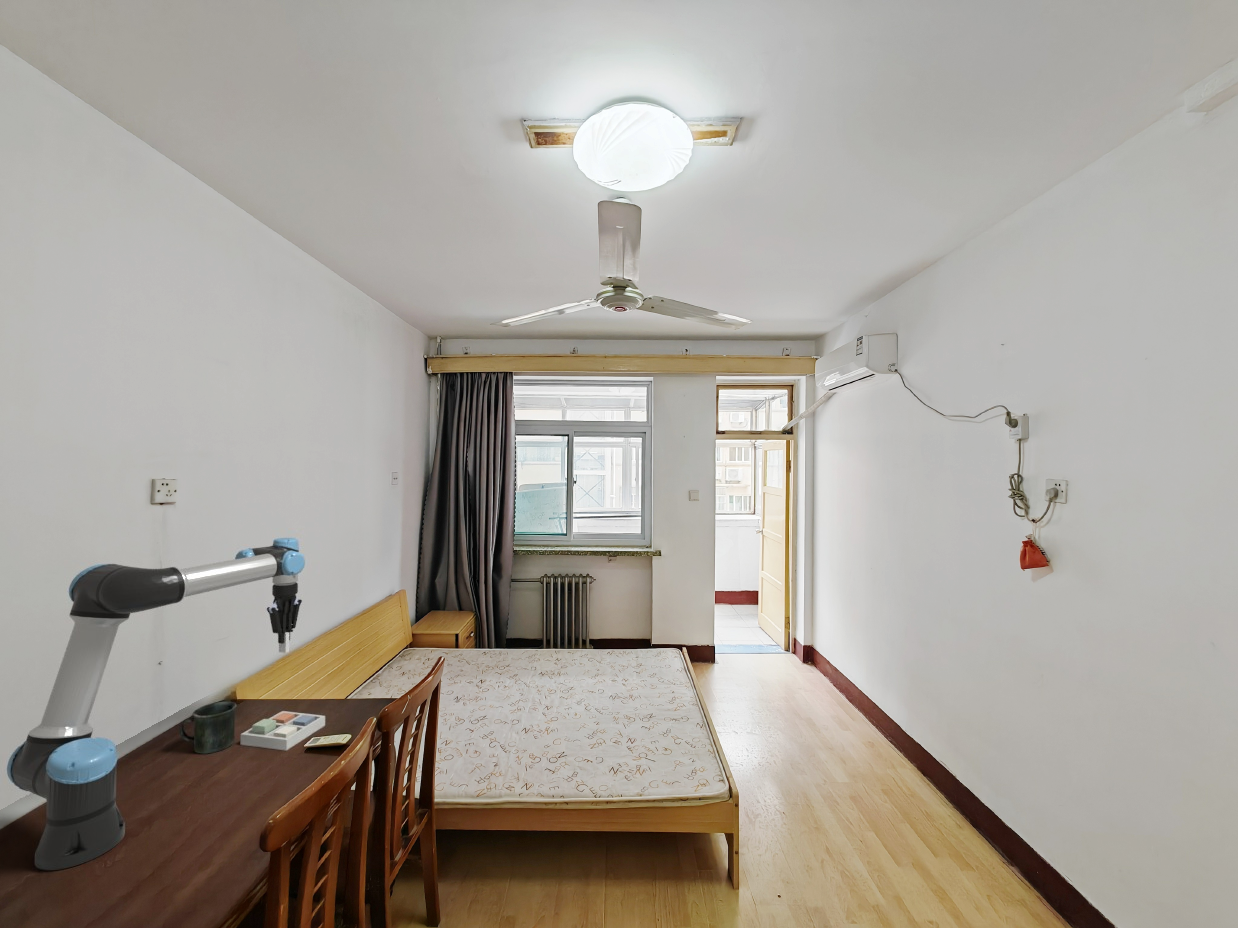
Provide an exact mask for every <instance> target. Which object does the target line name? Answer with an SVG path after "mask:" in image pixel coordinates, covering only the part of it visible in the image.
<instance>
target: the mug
mask: <svg viewBox="0 0 1238 928" xmlns="http://www.w3.org/2000/svg"><path fill="white" fill-rule="evenodd" d="M236 708H237V703H236V702H235V701H234V702H233V701H219V702H213V703H209V704H205V705H203V706H200V707H198V708H196V709H195V710H194V711H193V712H192V716H193V717H190V718H186V719H184V720H183V722H181V723H180V726H179V734H180V735H181V738H182V739H183V740H184V741H187V742H193V750H194V752H196V753H197V754H202V755H203V754H206V755H207V754H213V753H216V752H217V753H218V752H220V751H223V750H226V749H227V748H228V747H230V746H232V745H233V743H234V742H235V732H236V731H235V719H236V716H235V715H236V713H235V712H236ZM192 722H194V725H193V726H194V729H193V732H194V733H193V735H194V736H189V735H188V734H187V733H186V731H185V727H184V726H185V725H186V724H188V723H192Z"/></svg>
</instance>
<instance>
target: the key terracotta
mask: <svg viewBox="0 0 1238 928" xmlns="http://www.w3.org/2000/svg"><path fill="white" fill-rule="evenodd" d="M294 718H295V714H290V713H282V714H280V715H278V716H276V717H274V718H273V719H272V720H276V723H281V724H285V723H287V722H288V721H290V720H292V719H294Z"/></svg>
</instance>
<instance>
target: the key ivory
mask: <svg viewBox="0 0 1238 928" xmlns="http://www.w3.org/2000/svg"><path fill="white" fill-rule="evenodd" d="M295 732H297V727H291V726H284V727H282V728H280V729H279V730H277V731H275V732H274V737H282V738H287V737H289V736H291V735H292V734H294V733H295Z"/></svg>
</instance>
